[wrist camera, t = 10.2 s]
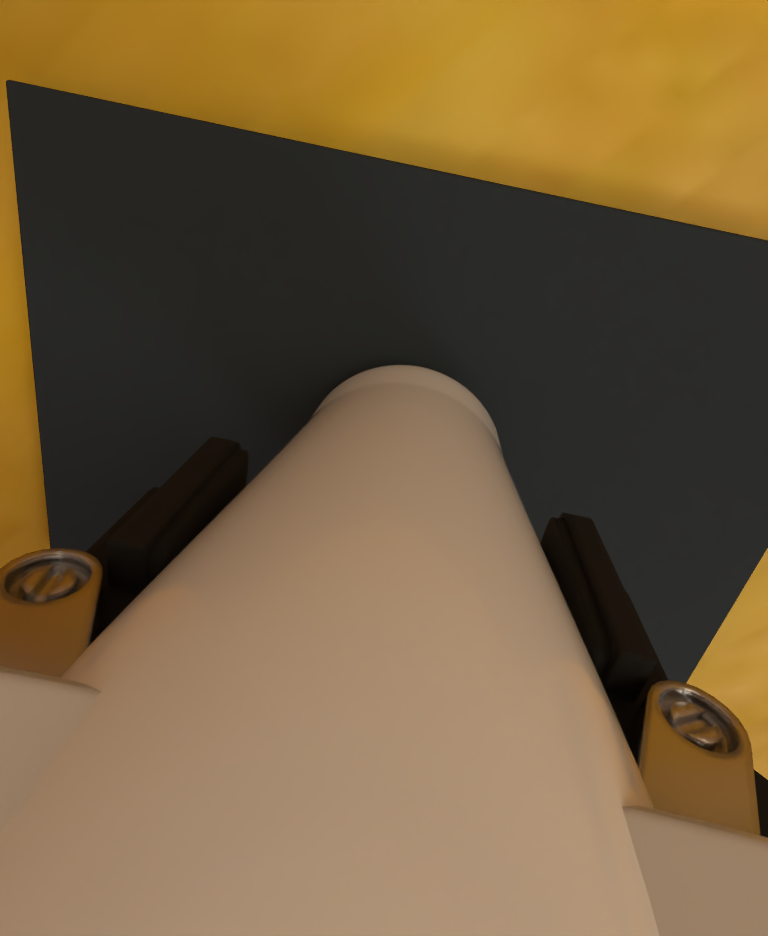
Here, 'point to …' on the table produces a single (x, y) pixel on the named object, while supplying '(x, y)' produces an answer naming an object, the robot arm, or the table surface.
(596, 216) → the desk pad
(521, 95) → the table surface
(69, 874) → the white cup
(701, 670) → the table surface
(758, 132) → the table surface
